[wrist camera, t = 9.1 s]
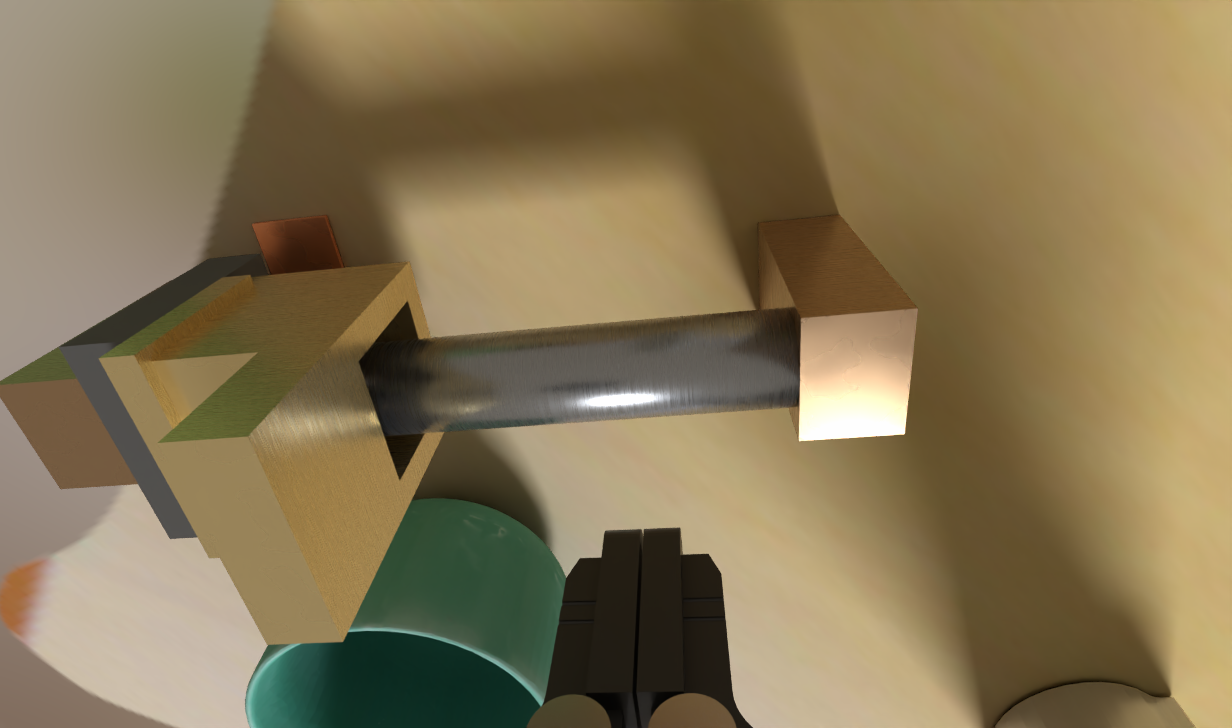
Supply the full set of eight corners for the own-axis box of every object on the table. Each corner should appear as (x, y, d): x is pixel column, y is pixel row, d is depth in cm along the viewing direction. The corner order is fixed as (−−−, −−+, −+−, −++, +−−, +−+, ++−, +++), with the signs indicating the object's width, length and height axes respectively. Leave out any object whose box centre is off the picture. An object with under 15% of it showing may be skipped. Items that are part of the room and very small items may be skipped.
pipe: (842, 160, 24) (925, 234, 16) (833, 356, 28) (898, 487, 20) (149, 234, 27) (-47, 326, 19) (227, 402, 30) (90, 534, 23)
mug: (389, 420, 31) (290, 578, 22) (628, 528, 33) (618, 708, 25) (293, 629, 38) (191, 806, 30) (494, 705, 40) (452, 888, 32)
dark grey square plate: (260, 253, 24) (125, 341, 18) (323, 415, 27) (227, 535, 21) (208, 258, 24) (58, 347, 18) (277, 418, 28) (170, 538, 22)
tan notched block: (406, 249, 22) (240, 420, 13) (455, 423, 26) (348, 652, 17) (238, 266, 23) (-27, 440, 14) (307, 434, 26) (127, 660, 17)
